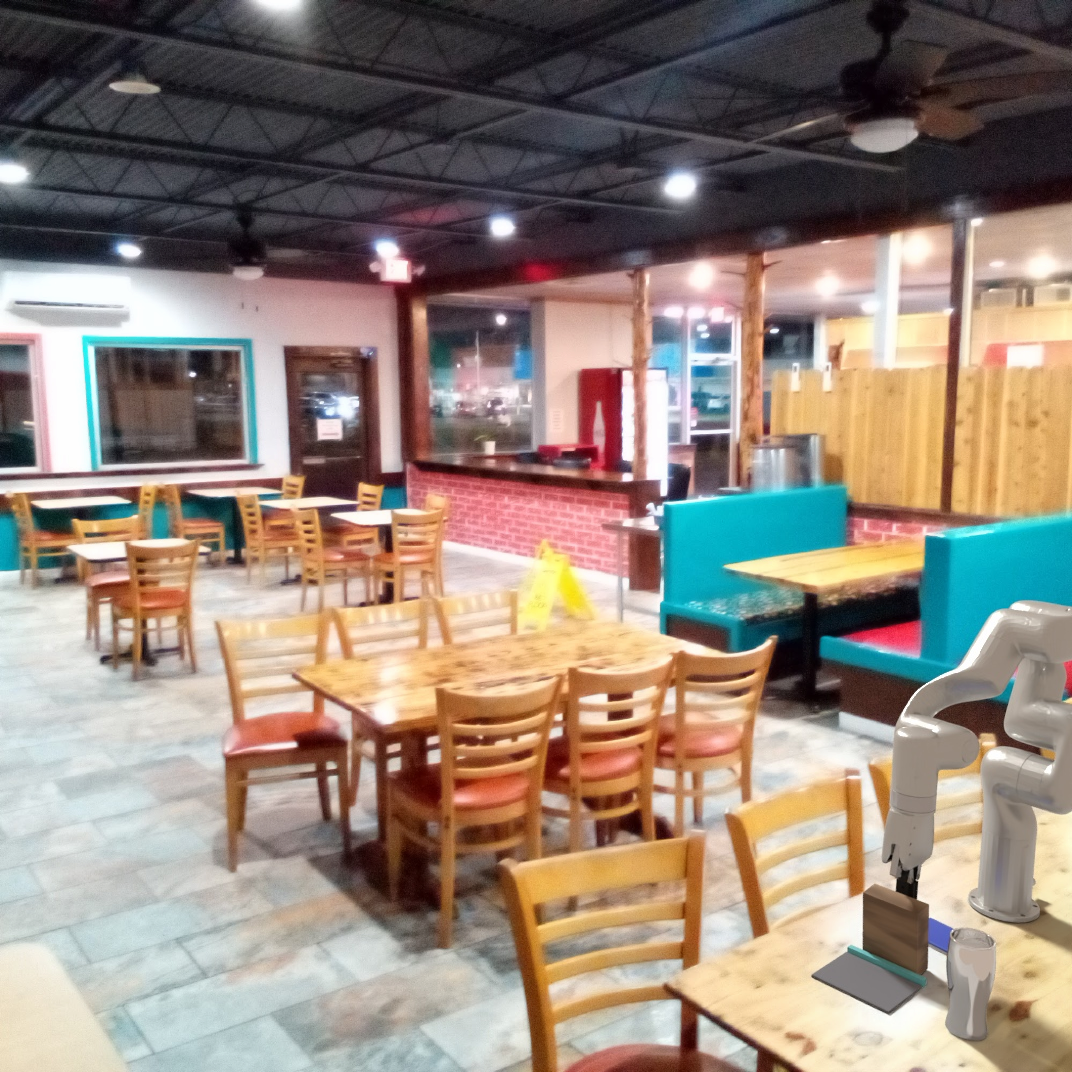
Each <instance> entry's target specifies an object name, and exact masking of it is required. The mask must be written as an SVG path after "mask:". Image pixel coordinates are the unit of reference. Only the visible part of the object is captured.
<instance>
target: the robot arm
mask: <svg viewBox="0 0 1072 1072" xmlns="http://www.w3.org/2000/svg"><path fill="white" fill-rule="evenodd" d="M1071 661H1072V606H1070V605H1069V606H1068V605H1063V604H1062V605H1061V604H1059V603H1058V604H1057V603H1051V602H1046V601H1042V600H1041V601H1038V600H1031V599H1030V600H1028V599H1027V600H1026V599H1025V600H1018V601H1015V602H1014V603H1012V604H1010V606H1009V607H1008V608H1001V609H997V610H995V611H994V612H992V613H991V614H990V615H989V616H988V617H987V619H986V620H985V622H984V624H983V625H982V627H981V629H980V630H979V632H978V634H977V635H976V636H975V638H974V640H973V642H972V644H971V645H970V647H969V649H968V651H967V652H966V654H965V655H964V657H963V658H962V660H961V662H960V663H959V665H958V666H957V667H956V668H954V669H952V670H950V671H947V672H945V673H943V674H941V675H938V676H936V677H935V678H933V679H932V680H930V681H929V682H927V683H925V684H924V685H922V686H921V687H919V688H918V689H917V690H916V691H915V692H914V694H912V695H911V697H910V699H909V700H908V702H907V703H906V705H905V706H904V709H903V710H902V711H901V713H900V715H899V717H898V719H897V721H896V724H895V727H894V732H893V743H892V744H893V745H892V757H891V758H892V759H891V771H890V772H891V773H890V777H891V778H890V789H889V802H888V803H889V805H888V806H889V809H888V812H887V816H886V819H885V820H886V821H885V825H884V832H883V840H882V848H881V862H882V863H883V864H888V863H890V862H891V863H890V864H891V865H890V869H889V875H890V876H892V877H894V878H895V879H896V880H895V891H896V892H898V893H901V894H904V895H906V896H909V897H911V898H914V899H916V900H918V892H919V880H920V877H921V871H922V867H923V866H922V865H923V864H924V863H925V862H926V861H927V860H929V859H930V858H931V857H932V854H933V851H934V844H935V813H936V810H937V801H938V800H937V796H938V781H939V772H940V771H945V770H946V771H949V770H950V771H952V770H953V771H954V770H955V771H956V770H962V769H966V768H967V767H970V766H971V765H972V764H973V763H974V762H975V761H976V760H977V758H978V756H979V753H980V750H981V749H980V747H981V745H980V741H979V738H978V736H977V735H976V734H975V732H973V731H972V730H971V729H968V728H967V727H964V726H962V725H959V724H955V723H953V722H952V723H951V722H948V721H945V720H942V719H939V718H936V717H935V715H937V714H938V713H939V712H940V711H942V710H944V709H946V708H948V707H950V706H953V705H957V704H961V703H968V702H974V701H981V700H986V699H991V698H995V697H998V696H1000V695H1002V694H1003V692H1004V691H1005V690H1006V688H1007V686H1008V685H1009V682H1010V681H1011V679H1012V677H1013V676H1014V674H1015V672H1016V671H1017V672H1016V677H1015V679H1014V683H1013V687H1012V691H1011V694H1010V696H1009V701H1008V705H1007V707H1006V712H1005V716H1004V719H1003V728H1004V731H1005V733H1006V734H1007V736H1008V737H1009V738H1012V739H1013V740H1015V741H1018V742H1020V743H1024V744H1026V745H1028V746H1029V745H1030V746H1033V747H1036V748H1040V749H1043V750H1046V751H1051V752H1054V758H1050V757H1048V756H1047V757H1046V756H1043V755H1039V754H1037V753H1034V752H1031V751H1028V750H1025V749H1021V748H1016V747H1012V746H1005V745H1001V746H995V747H992V748H990V749H989V750H988V751H986V753H985V754H984V755H983V757H982V759H981V762H980V769H979V770H980V780H981V788H982V797H983V798H982V801H983V802H982V803H983V809H982V825H981V836H980V837H981V838H980V851H979V863H978V864H979V865H978V879H977V880H978V881H977V882H978V883H977V887H975V888H973V889H972V890H971V889H970V891H969V893H968V897H967V898H968V899H967V900H968V903H969V905H970V906H971V907H972V908H973V909H974V910H976V911H977V912H979V913H980V914H982V915H984V916H986V917H989V918H992V919H995V920H999V921H1003V922H1009V923H1029V922H1033V921H1035V920H1036V919H1038V918H1039V917H1040V914H1041V912H1040V911H1041V908H1040V906H1039V903H1037V901H1036V900H1035V899H1033V889H1034V888H1033V887H1035V885H1036V884H1037V883H1036V882H1037V881H1036V879H1035V878H1034V875H1035V874H1034V872H1035V863H1036V862H1035V861H1036V848H1037V836H1038V820H1037V817H1036V814H1035V811H1034V809H1033V808H1036V809H1039V810H1042V811H1045V812H1048V813H1052V814H1054V815H1061V816H1063V815H1068V814H1070V813H1071V812H1072V703H1070V702H1065V701H1062V700H1063V695H1064V691H1065V688H1066V684H1067V680H1068V677H1067V675H1068V674H1067V670H1066V667H1065V663H1066V662H1067V663H1068V662H1071Z"/></svg>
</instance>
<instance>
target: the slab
mask: <svg viewBox="0 0 1072 1072" xmlns="http://www.w3.org/2000/svg"><path fill="white" fill-rule="evenodd" d="M929 918H930V904H929V903H926V902H923V901H922V900H919V899H917V900H916V899H914V898H911V897H909V896H906V895H904V894H901V893H898V892H896V890H894V889H890V888H888V887H885V886H882V885H880V884H877V883H874V884H872V885H871V886H870V887H868V888H867V889H866V890H864V891H863V892H862V950H865V951H867V952H869V953H871V954H874V955H876V956H878V957H880V958H883V959H885V960H887V961H889V962H892V963H894V964H896V965H898V966H901V967H903V968H905V969H907V970H910V971H912V972H914V973H917V974H919V975H921V976H922V974H924V973H925V972H926V971H927V970H928V969H929V946H928V935H929Z"/></svg>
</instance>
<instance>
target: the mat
mask: <svg viewBox="0 0 1072 1072" xmlns="http://www.w3.org/2000/svg"><path fill="white" fill-rule="evenodd" d="M811 978H813V979H815V980H817V981H820V982H821V981H822V983H823V982H824V984H825V985H827V986H830V987H831V988H834V989H835V990H838V991H840V992H843V993H844V994H847V995H849V996H850V997H852V998H855V999H857V1000H859V1001H861V1002H862V1003H865V1004H867V1005H869V1006H870V1007H873V1008H875V1009H877V1010H880V1011H882V1012H884V1013H886V1014H888V1015H889V1014H890V1013H891V1012H893V1011H894V1010H896V1009H897V1008H898V1007H900V1006H901V1005H902V1004H903V1003H905V1002H906V1001H907V1000H908V999H909V998H911V997H912V996H913V995H915V994H916V993H917V992H919V991H920V990H921V989H923V987H922V986H921V985H919V984H917V983H915V982H912V981H910V980H908V979H906V978H904V977H901V976H899V975H897V974H895V973H892V972H890V971H888V970H886V969H884V968H881V967H879V966H877V965H875V964H872V963H870V962H868V961H866V960H864V959H861V958H859V957H857V956H855V955H852V954H850V953H848V952H847V951H845V952H844V953H842V954H840V955H839V956H838V957H836V958H835V959H833V960H831V961H830V962H829V963H827V964H825V965H823V967H821V968H819V969H818V970H816V971H814V972H813V973H811Z"/></svg>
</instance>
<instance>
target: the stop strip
mask: <svg viewBox="0 0 1072 1072" xmlns="http://www.w3.org/2000/svg"><path fill="white" fill-rule="evenodd" d="M846 952H848V953H850V954H852V955H855V956H857V957H859V958H861V959H864V960H866V961H868V962H870V963H872V964H875V965H877V966H879V967H881V968H884V969H886V970H888V971H890V972H892V973H895V974H897V975H899V976H901V977H904V978H906V979H908V980H910V981H912V982H915V983H917V984H919V985H921V986H922V988H924V987H925V986H927V979H928V978H927V977H925V976H923V975H922V974H921V975H919V974H917V973H914V972H912V971H910V970H907V969H905V968H903V967H901V966H898V965H896V964H894V963H892V962H889V961H887V960H885V959H883V958H880V957H878V956H876V955H874V954H871V953H869V952H867V951H865V950H863V948H860V947H858V946H855V945H853V944H850V945H848V946H847V951H846Z"/></svg>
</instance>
